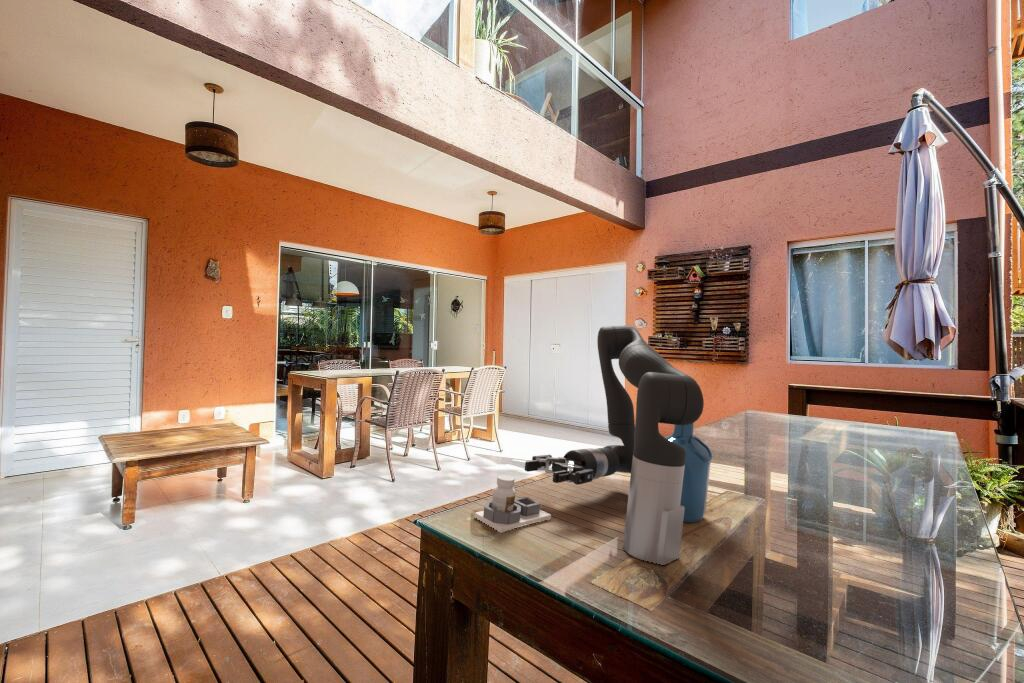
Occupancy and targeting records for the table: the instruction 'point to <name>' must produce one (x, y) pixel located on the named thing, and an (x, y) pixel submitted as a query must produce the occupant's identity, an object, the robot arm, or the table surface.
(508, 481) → the pill bottle
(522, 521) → the socket board
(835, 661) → the table surface
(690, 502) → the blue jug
